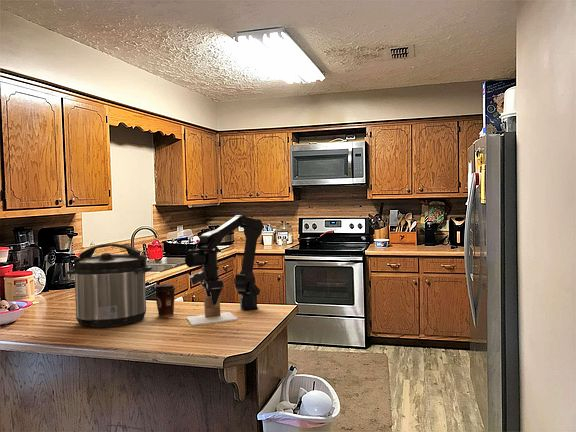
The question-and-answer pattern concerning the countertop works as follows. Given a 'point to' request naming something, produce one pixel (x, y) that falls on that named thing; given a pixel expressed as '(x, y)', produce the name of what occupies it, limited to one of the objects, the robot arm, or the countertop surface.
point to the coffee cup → (165, 299)
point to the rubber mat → (211, 319)
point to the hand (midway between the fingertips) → (211, 302)
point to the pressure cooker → (110, 287)
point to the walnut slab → (211, 307)
